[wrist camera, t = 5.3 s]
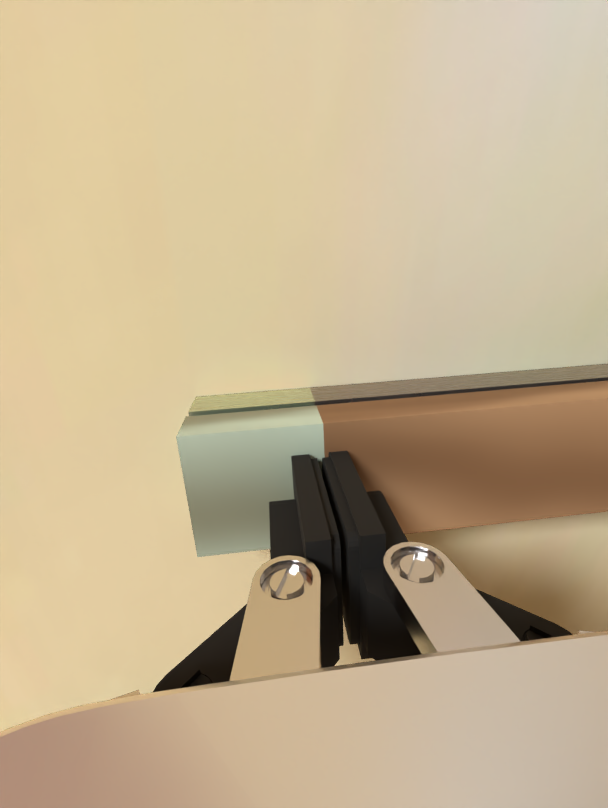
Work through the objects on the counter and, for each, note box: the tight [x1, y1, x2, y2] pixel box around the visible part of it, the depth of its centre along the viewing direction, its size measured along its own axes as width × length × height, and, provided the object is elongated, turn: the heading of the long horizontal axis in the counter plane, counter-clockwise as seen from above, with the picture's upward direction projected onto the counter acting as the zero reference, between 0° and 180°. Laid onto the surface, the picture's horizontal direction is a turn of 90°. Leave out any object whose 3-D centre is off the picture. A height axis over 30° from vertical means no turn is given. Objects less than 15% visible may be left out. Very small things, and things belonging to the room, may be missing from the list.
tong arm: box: [176, 381, 608, 557], centre depth 13 cm, size 4×20×2 cm, turn 93°
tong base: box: [189, 364, 608, 416], centre depth 13 cm, size 8×22×4 cm, turn 93°
